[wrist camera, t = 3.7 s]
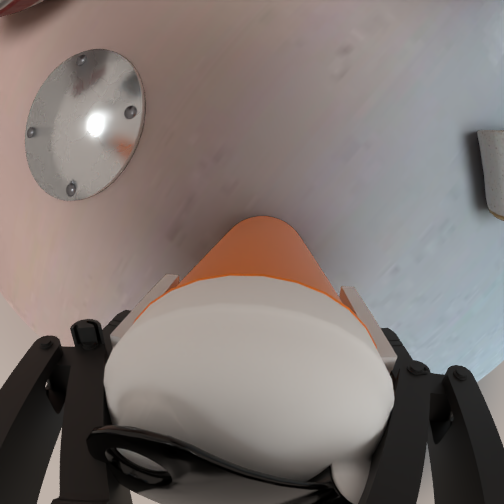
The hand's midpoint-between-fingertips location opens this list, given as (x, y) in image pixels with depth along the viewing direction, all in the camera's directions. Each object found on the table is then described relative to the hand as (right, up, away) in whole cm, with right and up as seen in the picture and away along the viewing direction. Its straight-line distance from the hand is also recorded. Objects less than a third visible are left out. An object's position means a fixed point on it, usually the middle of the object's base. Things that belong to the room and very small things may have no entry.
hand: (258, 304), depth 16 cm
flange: (-17, +15, +6) cm, 23 cm away
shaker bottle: (+1, +2, +8) cm, 9 cm away
